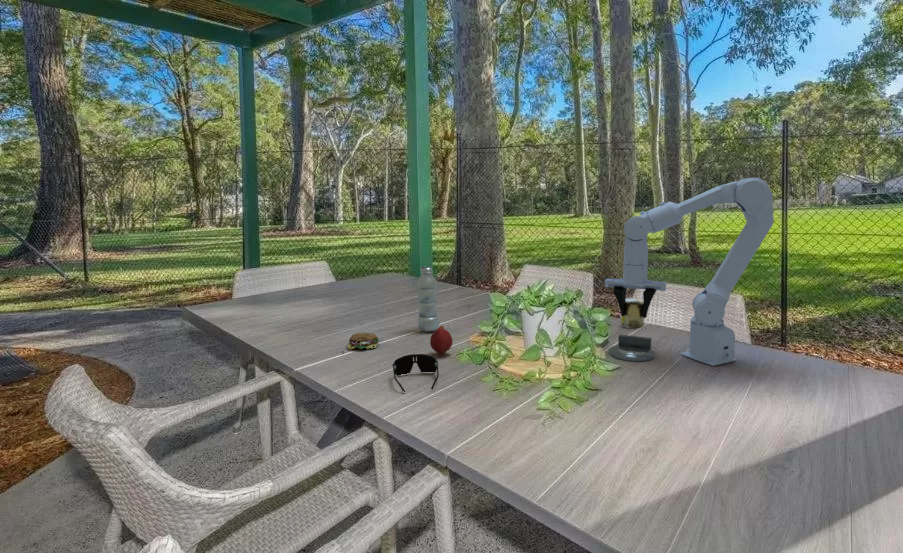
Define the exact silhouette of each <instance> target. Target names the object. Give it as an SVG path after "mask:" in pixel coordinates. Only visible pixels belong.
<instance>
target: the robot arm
mask: <svg viewBox="0 0 903 553" xmlns="http://www.w3.org/2000/svg"><path fill="white" fill-rule="evenodd" d="M773 194H774V193H773V192H772V190H771V189H770V187H769V185H768V183H767V181H765V180H763V179H762V178H759V177H745V178H742V179H739V180H737V181H732V182H729V183H728V182H727V183H724V184H720V185H718V186H714V187H713V188H711V189H709V190H707V191H704V192H702V193H700V194H698V195H695V196H693V197H691V198H689V199H686V200H684V201H682V202H680V203H675V202H673V201H668V202H665V201H662V202H659V204H658V206H657V207H656V206H655V207H654V208H651V209H649V210H647V211H644V210H642V211H640V212H639V215H636V216H632V217H630V218H629V219H627V221H626V222H625V223H624V225H623V232H624V234H625V238H624V246H623V271H622V274H623V275H622V276H623V278H606V279H604V287H605V288H613V291H612V292H613V294H614V297H615V298H616V300H617V303H618V307H619V310H620V316H621V317H622V316H624V315H625V300H626V299H627V297H626V296H627V289H636V290H643V292H642V295H643V296H642V299H643V300H642V301H643V318H644V319H646V318H647V316H648V311H649V308H650V305H651V303H652V300H653V298H654V296H655V294H656V292H657V291H660V292H665V291H666V290H667V282H666V281H658V280H657V281H656V280H649V279H648V268H649V267H648V266H649V265H648V264H649V244H648V235H649V234H650V233H652V234H655V233H658V232H661V231H663V230H665V229H668V228H671V227H674V226H676V225H678V224H681V222H682V219H683V217H684V216H686V215H688V214H691V213H693V212H697V211H700V210H701V209H705V208H707V207H711V206H713V205H716V204H718V203H720V204H721V203H722V204H723V203H725V204H734V203H735V204H736V205H737V206H738V207H739V208H740V209H741V212H742V214H743V216H744V219H745V221H746V222H745V224H744V226H743V228H742V230H741V231H740V233H739V235H738V236H737V237H736V240H734V243H733V245H732V246H731V248H730V249H729V251H728V252H727V254H726V256H725V258H724V259H723V261H722V262H721V264H720V266H719V268H718V269H717V270H716V273H715V274H714V276H713V278H712V279H711V281H709V283H707V285H706V286H705V288H704V289H703V290H702V291H701V292H699V293H698V294H696V295H695V297H694V298H693V299H692V304H691V306H692V308H693V312H694V316H693V317H691V318H690V324H689V325H690V326H689V327H690V328H689V344H688V347H689V348H688V350H687V351H683V352H680V355H681V356H684V357H687V358H689V359H692V360H695V361H698V362H700V363H704V364H707V365H710V366H712V367H713V366H718V365H723V364H727V363H731V362H736V361H737V358H735V344H736V335H735V331H734V330H733V329H732V328H730V327H727V325H725V321H724V316H725V312H726V311H725V310H726V306H727V304H728V302H729V300H730V296H731V293H732V291H733V290H734V287H735V286H736V284H737V283H738V281H739V279H741V276H742V275H743V273H745V271H746V268H747V267H748V266H749V264H750V262H751V261H752V259H753V257H754V256H755V254H756V253H757V251H758V249H759V248H760V246H761V245H762V243H763V241H764V240H765V238H766V237H767V234H768V233H769V232H770V230H771V228H772V227H773V225H774V222H775V220H774V218H775V217H774V208H773V207H774V206H773V198H774V195H773Z"/></svg>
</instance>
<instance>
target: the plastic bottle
mask: <svg viewBox="0 0 903 553" xmlns="http://www.w3.org/2000/svg"><path fill="white" fill-rule="evenodd" d="M419 273H420V277H419V278H418V280H417V283H416V288H417V289H416V290H417V295H418V301H419V302H418V304H419V308H418V310H419V311H418V312H419V313H418V319H417V320H418V321H417V325H418V329H419V330H420V332H421V331H422V332H427V333H428V332H434V331H435V330H437V329H438V328H439V327H440V325H439V324H440V320H439V315H438V310H437V309H438V308H437V294H438V281H437V279H436V277H434V275H433V273H434V271H433V266H421V267H420V272H419Z"/></svg>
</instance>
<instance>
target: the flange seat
mask: <svg viewBox="0 0 903 553" xmlns="http://www.w3.org/2000/svg"><path fill="white" fill-rule="evenodd" d="M652 342H653V341H652V337H647V336H638V335H637V336H636V335H627V334H619V335H618V342H617V343H618V345H613V346H611V347H610V348H608V354H609V356H610V357H612V358H614V359H615V360H616V359H617V360H621V361H625V362H633V363H634V362H635V363H641V362H649V361H652V360H654V359H655V358H656V352H655V351H654V350H653V349H652Z"/></svg>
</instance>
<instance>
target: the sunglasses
mask: <svg viewBox="0 0 903 553" xmlns="http://www.w3.org/2000/svg"><path fill="white" fill-rule="evenodd" d="M414 364H416V365H417V367H418V369H419V370H420V373H422V372H434V373H433V374H435V373H436V374H437V376H436V377H435V380H434V381H433V384H432V386H431V387H430V389H433V390H434V387H435V385H436V382H437V381H438V379H439V376H440V374H439V372H440V371H439V361H438V360H437V359H436V358H435V357H434V356H433V355H429V354H424V353H423V354H422V353H414V354H406V355H402V356H401V357H399V358H395V360H394V362H393V363H392V372H393V378H394V381H395V382H396V383H397V385H399V388H400V389H401V391H402V392H403V391H404V392H406V391H405V389H404V387H403V386H402V383H400V381H399V380H398V379H397V377H399V376H398V375H401V374H407V373H410V374H411V371H412V369H413V366H414ZM396 376H397V377H396Z"/></svg>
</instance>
